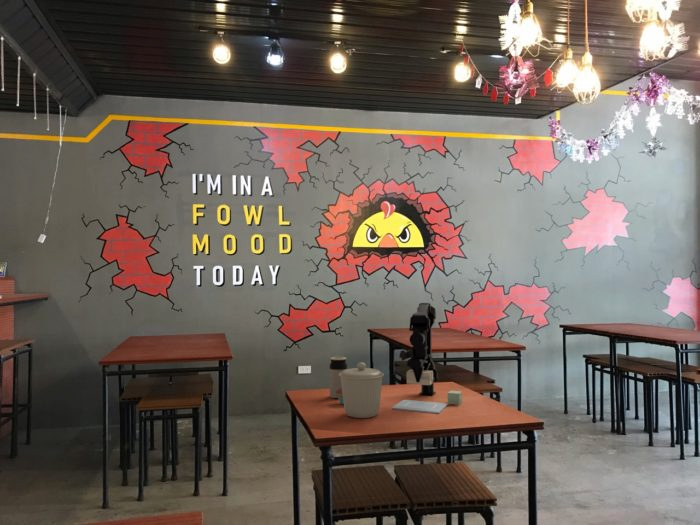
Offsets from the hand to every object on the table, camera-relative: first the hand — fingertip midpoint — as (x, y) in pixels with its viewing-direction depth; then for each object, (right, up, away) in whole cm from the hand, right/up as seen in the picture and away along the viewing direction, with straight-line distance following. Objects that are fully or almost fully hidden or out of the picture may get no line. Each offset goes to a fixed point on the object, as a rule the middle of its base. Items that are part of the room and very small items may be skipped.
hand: (420, 380), depth 235 cm
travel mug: (-35, -12, +19) cm, 42 cm away
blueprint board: (0, -11, 0) cm, 11 cm away
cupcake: (-32, -12, +7) cm, 34 cm away
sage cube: (+16, -11, +6) cm, 20 cm away
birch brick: (0, -1, 0) cm, 1 cm away
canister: (-25, -11, -13) cm, 31 cm away
